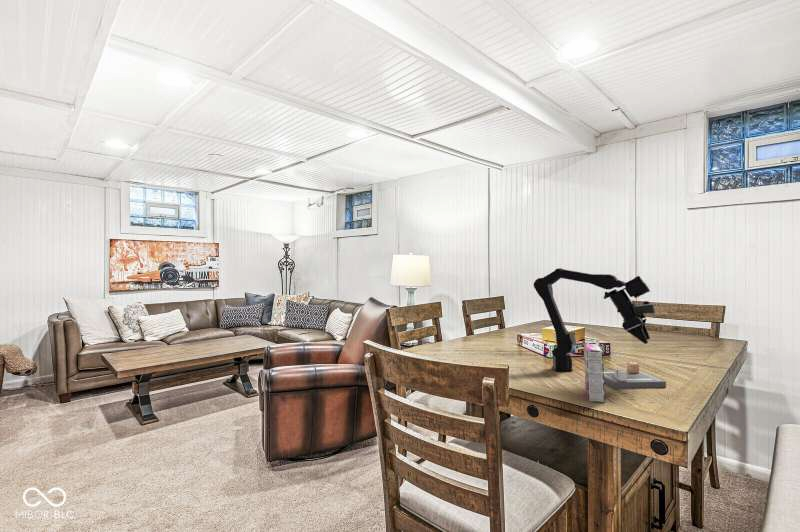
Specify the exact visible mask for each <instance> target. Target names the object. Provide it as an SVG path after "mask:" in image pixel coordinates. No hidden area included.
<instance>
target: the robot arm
mask: <svg viewBox="0 0 800 532" xmlns="http://www.w3.org/2000/svg"><path fill="white" fill-rule="evenodd" d="M561 279H564V280H570V281H575V282H579V283H580V282H582V283H586V284H587V283H588V284H591V285H593V286H595V287H598V288H601V289H603V290H611V291H605V292H604V296H603V299H604V300H606V299H608V298H610V300H611V302H612V303H613V305H614V306H615V308H616V312H617V313H619V314H620V316H621V317H622V319H623V320H622V321H623V322H622V323H621V324H622V325H621V326H622V328H623V330H624V331H626V332H628V333H629V334H630V335H631V336H633V337H635V338H636V339H637V340H639V341H640V342H641V343H643V344H645V345H647V344H648V343H649V341H648V340H650V339H651V338H650V334H649V332H648V329H647V326H646V322H647V316H646V314H654V313H656V310H655V305H654V303H650V301H649V300H645V301H643V302H642V304H637V305H636V303H635V302H632V300H631V299H630V298H632V297H633V298H635V299H636V298H639V297H641V296H644V295H645V294H647V293H649V292H651V289H650V288H649V286H648V285H647V283H646V282H645V281H644V280H643V279H642V278H641V276H640V275H637V276H635V277H634V278H633V279H630V280H628V281H627V282H625V281H622V280H620V279H618V277H616V275H614V274H611V273H609V274H607V273H606V274H604V273H603V274H602V273H600V274H597V273H588V272H587V273H586V272H582V271H576V270H570V269H564V268H561V267H560V268H555V270H553V271H552V272H550V273H549V274H546V275H545V276H544V277H543V276H542V277H538V278H536V279H535V280H534V282H533V288H534V290H535V291H536V293H537V295H538V296H539V297H540V298H541V299H542V301H543V304H544V306H545V308H546V311H547V313H548V316H549V319H550V321H551V324H552V326H553V329H554V332H555V341H556V347H555V348H554V349H552V351H551V354H552V366H551V369H552V370H554V371H555V372H560V373H561V372H563V373H564V372H573V359H572V358H571V354H570V353H571V352H572V350H574V349H575V347H576V342H577V339H576V338H575V336H574V332H573V331H570V332H569V330H568V329H567V328H566V326H565V324H564V323H565V322H564V321H563V318H562V316H561V313H560V311H559V308H558V305H557V303H556V300H555V298H554V290H553V289H554V288H553V285H554V284H555V283H557V282H558V281H559V280H561ZM616 288H617V289H619V290H617V289H616ZM620 288H622V289H620ZM612 289H613V290H612Z"/></svg>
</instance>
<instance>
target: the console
mask: <svg viewBox="0 0 800 532" xmlns="http://www.w3.org/2000/svg"><path fill="white" fill-rule="evenodd" d="M624 370H625V371H627V369H624ZM604 384H606V385H608V386H609V385H610V386H609V387H611V388H612V389H639V388H640V389H641V388H643V389H644V388H648V389H649V388H650V389H651V388H667V381H666V380H664V379H661V378H659V377H657V376H654V375H651V374H650V373H647V372H645V371H642V370H640V369H639V373H632V372H630V371H627V381H620V380H618V379H616V378H615V369H614V370H604Z"/></svg>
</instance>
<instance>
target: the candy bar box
mask: <svg viewBox="0 0 800 532" xmlns="http://www.w3.org/2000/svg"><path fill="white" fill-rule="evenodd" d="M601 347H602V346H600V344H597V343H596V344H595V343H584V344H583V357H584V381H585V393H586V396H587V399H588V402H590V401H593V402H592V403H601V404H602V403H604V404H605V403H606V398H605V397H606V393H605V383H604V371H605V370H604V367H605V366H604V351H603V349H602V348H601Z"/></svg>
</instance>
